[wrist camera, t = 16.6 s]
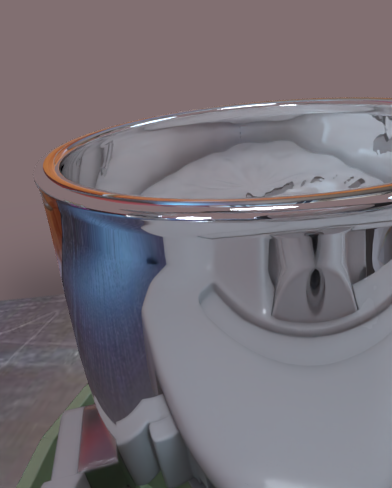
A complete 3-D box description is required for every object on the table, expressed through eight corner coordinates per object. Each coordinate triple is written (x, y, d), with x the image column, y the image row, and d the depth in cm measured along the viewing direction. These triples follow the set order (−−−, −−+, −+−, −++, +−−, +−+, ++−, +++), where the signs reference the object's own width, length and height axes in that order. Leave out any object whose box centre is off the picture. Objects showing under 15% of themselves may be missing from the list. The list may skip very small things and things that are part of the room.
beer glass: (127, 625, 11) (-105, 186, 4) (218, 438, 17) (178, 103, 10) (360, 819, 8) (893, 323, 1) (381, 511, 13) (499, 86, 6)
